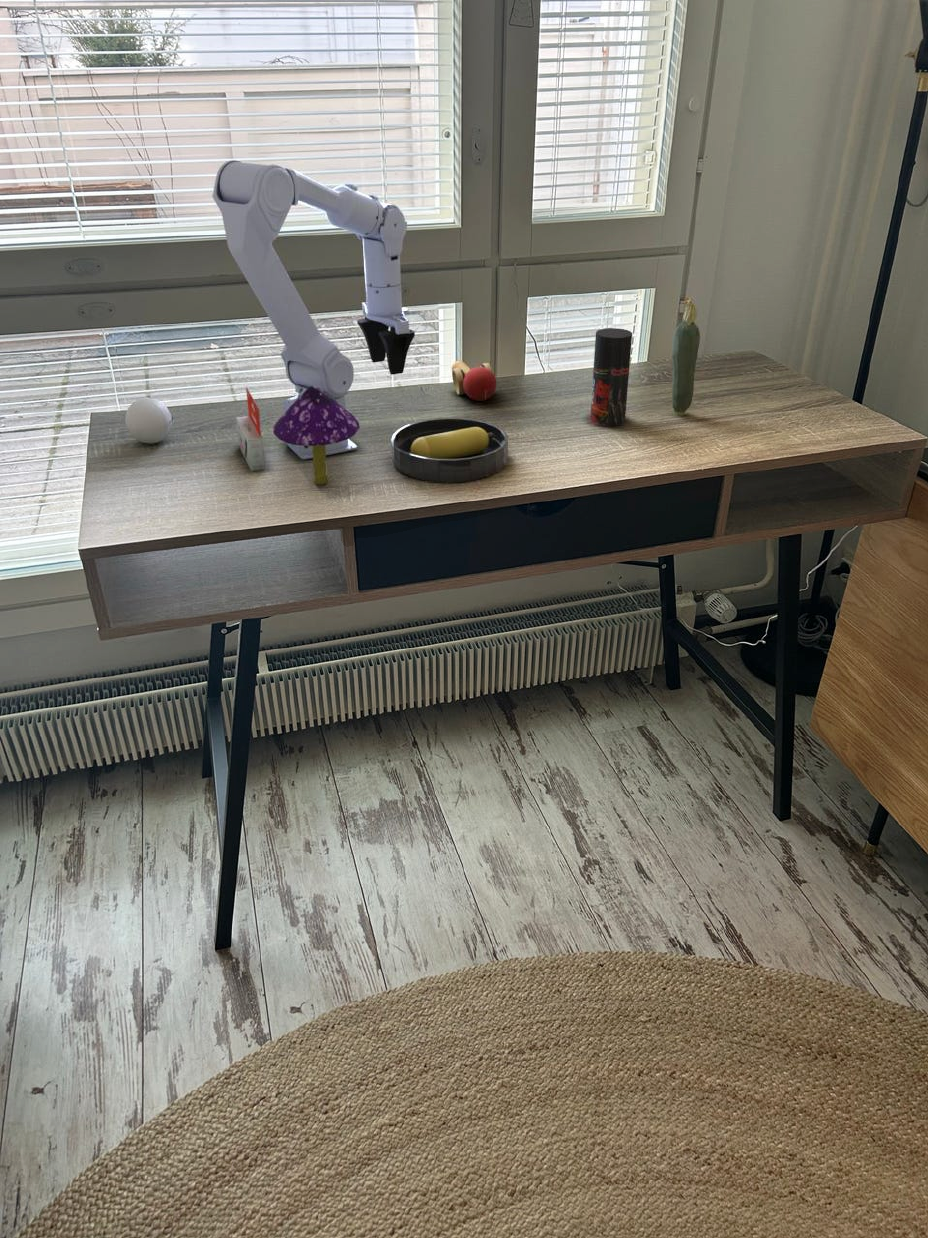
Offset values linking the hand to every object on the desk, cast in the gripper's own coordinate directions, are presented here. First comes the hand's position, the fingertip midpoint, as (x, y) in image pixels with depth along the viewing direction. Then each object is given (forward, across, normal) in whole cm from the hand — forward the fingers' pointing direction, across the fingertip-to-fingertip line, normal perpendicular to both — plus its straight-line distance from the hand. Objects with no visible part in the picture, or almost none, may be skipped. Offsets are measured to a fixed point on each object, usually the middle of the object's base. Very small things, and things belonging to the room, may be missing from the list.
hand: (387, 367), depth 161 cm
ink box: (+10, -5, +26) cm, 28 cm away
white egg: (+10, +11, +38) cm, 41 cm away
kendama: (+10, +8, -20) cm, 24 cm away
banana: (+9, -21, -1) cm, 23 cm away
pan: (+9, -21, -1) cm, 23 cm away
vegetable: (+10, -22, -45) cm, 51 cm away
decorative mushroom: (+10, -20, +20) cm, 30 cm away
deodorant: (+10, -18, -33) cm, 39 cm away
